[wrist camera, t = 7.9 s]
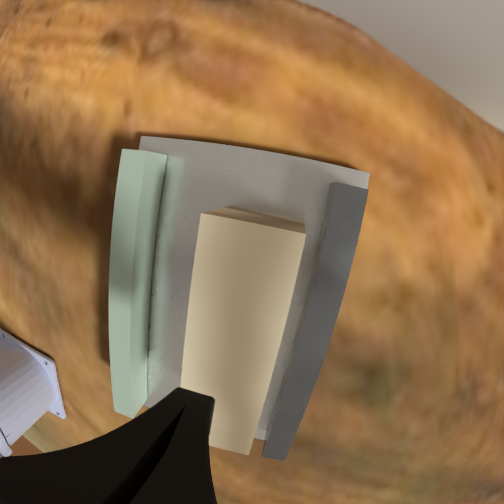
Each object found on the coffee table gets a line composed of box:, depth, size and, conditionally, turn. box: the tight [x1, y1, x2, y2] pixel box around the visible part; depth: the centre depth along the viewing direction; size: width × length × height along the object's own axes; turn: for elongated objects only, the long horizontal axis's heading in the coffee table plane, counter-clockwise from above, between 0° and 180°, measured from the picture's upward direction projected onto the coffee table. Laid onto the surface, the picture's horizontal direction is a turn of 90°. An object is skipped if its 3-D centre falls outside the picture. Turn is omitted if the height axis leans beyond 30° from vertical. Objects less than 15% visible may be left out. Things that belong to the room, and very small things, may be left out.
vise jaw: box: [109, 149, 167, 418], centre depth 17 cm, size 2×17×2 cm, turn 170°
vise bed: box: [139, 136, 370, 461], centre depth 17 cm, size 13×19×4 cm
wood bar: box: [181, 206, 306, 455], centre depth 15 cm, size 4×12×5 cm, turn 170°
